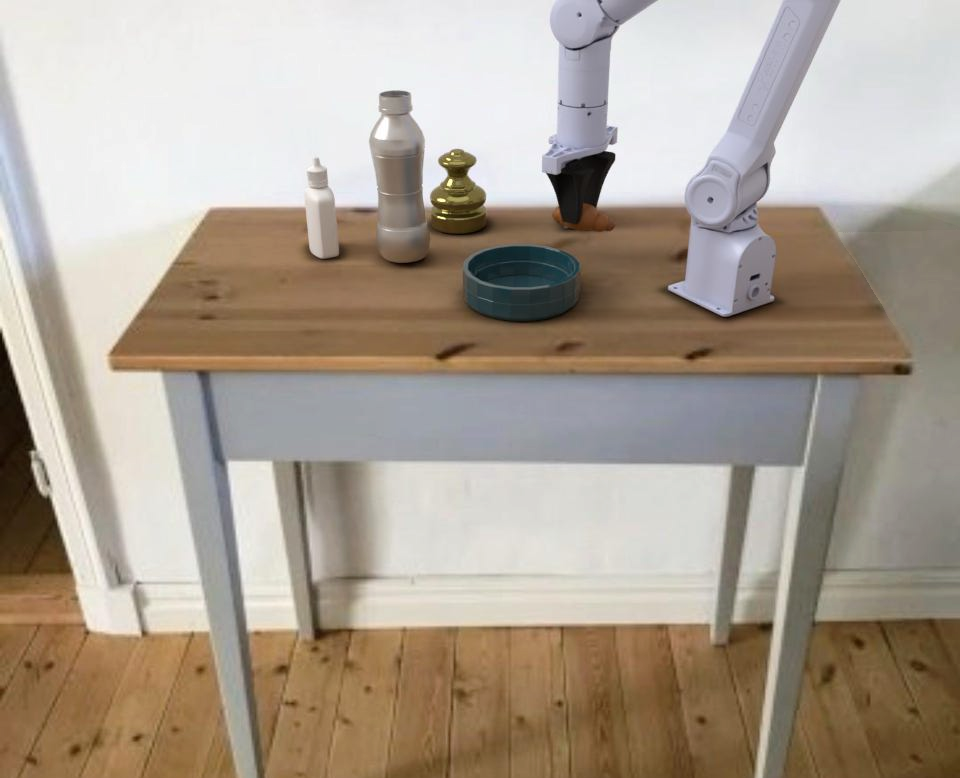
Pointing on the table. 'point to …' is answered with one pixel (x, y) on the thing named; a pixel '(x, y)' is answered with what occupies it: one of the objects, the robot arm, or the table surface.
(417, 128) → the plastic bottle
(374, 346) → the table surface
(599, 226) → the croissant
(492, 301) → the bowl
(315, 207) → the eye dropper bottle
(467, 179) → the gold tiered knob
